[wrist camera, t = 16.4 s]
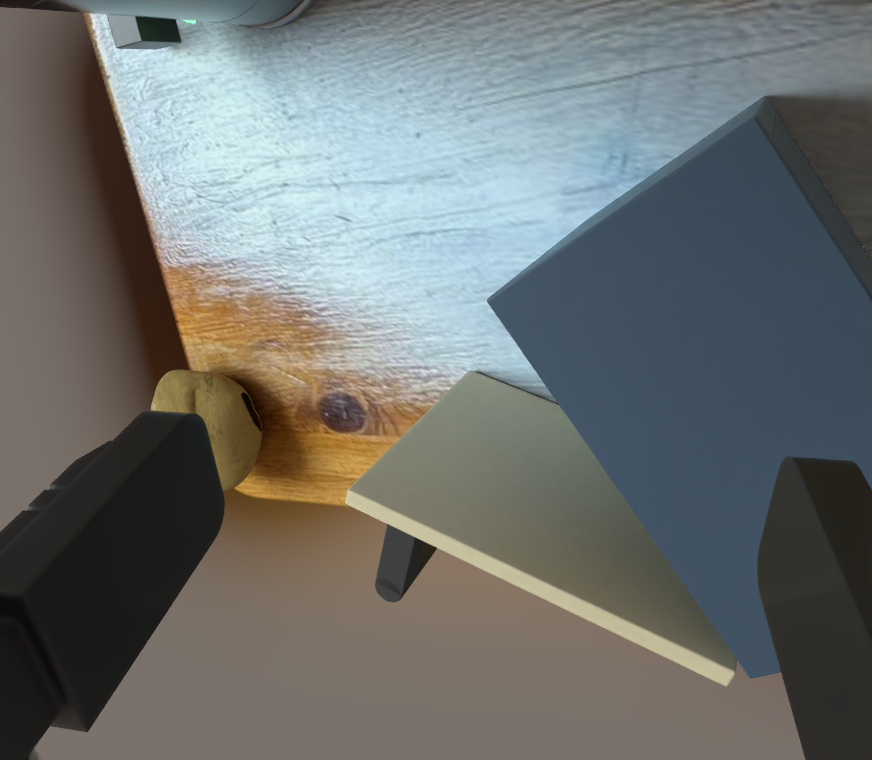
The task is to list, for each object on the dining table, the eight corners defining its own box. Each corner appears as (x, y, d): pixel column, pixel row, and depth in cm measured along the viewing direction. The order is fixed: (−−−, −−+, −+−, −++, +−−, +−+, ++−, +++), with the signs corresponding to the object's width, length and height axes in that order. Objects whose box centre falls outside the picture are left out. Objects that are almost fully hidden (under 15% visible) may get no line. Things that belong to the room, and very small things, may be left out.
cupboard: (760, 479, 35) (749, 679, 23) (585, 220, 33) (485, 300, 22) (963, 403, 30) (1073, 610, 18) (766, 95, 28) (755, 115, 17)
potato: (288, 480, 47) (195, 514, 49) (285, 385, 51) (199, 421, 53) (217, 444, 41) (116, 484, 44) (220, 340, 45) (127, 382, 48)
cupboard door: (703, 570, 38) (671, 779, 27) (447, 458, 42) (328, 598, 31) (751, 479, 35) (736, 673, 24) (469, 369, 39) (346, 489, 28)
